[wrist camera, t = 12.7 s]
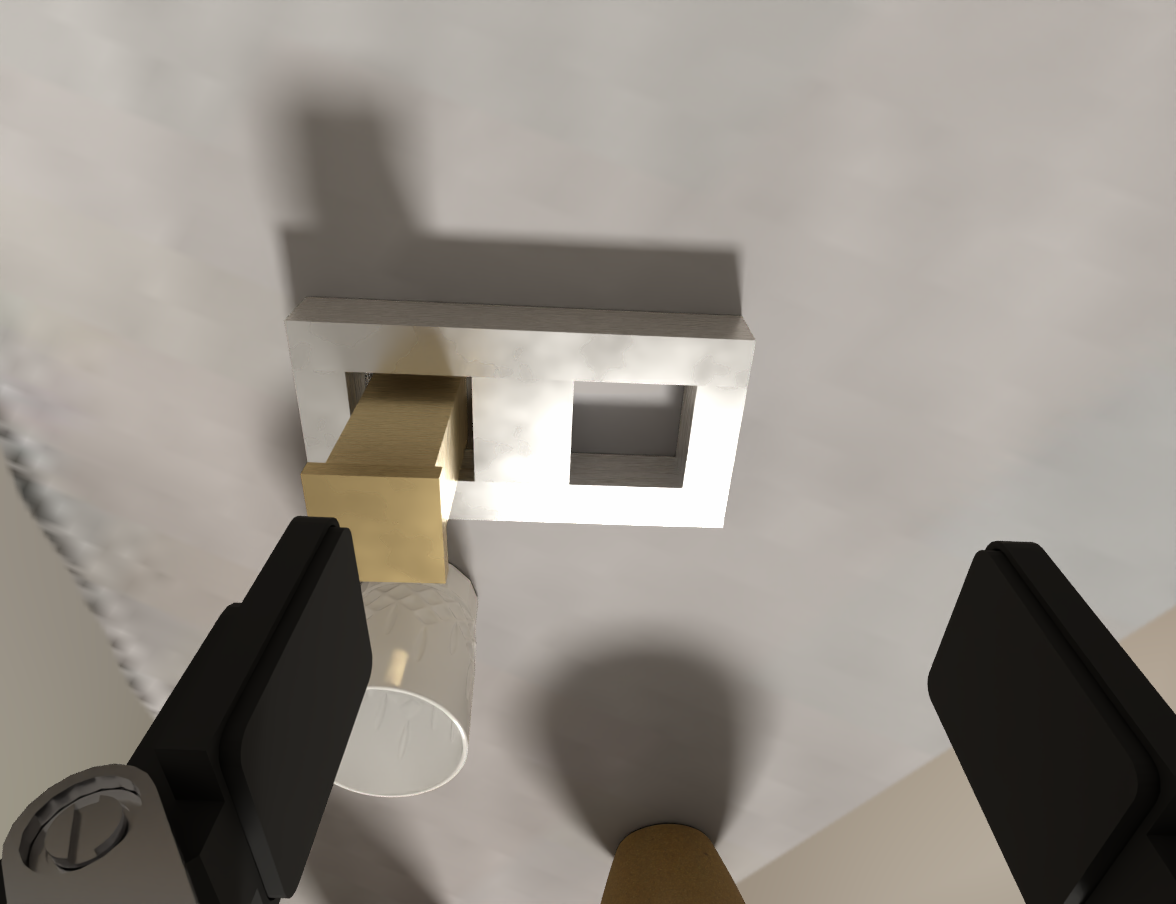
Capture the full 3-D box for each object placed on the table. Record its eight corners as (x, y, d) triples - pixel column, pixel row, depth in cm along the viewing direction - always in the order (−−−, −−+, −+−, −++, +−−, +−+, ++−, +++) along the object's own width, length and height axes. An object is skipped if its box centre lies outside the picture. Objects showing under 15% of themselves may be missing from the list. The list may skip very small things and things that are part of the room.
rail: (742, 315, 34) (755, 340, 32) (712, 493, 40) (722, 527, 37) (306, 296, 34) (284, 320, 31) (333, 481, 39) (316, 514, 36)
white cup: (355, 534, 40) (298, 674, 32) (498, 557, 42) (479, 700, 33) (346, 637, 44) (293, 787, 36) (477, 656, 45) (455, 806, 37)
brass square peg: (473, 355, 35) (439, 478, 26) (476, 442, 38) (445, 583, 28) (372, 351, 35) (300, 474, 26) (381, 439, 37) (318, 580, 28)
